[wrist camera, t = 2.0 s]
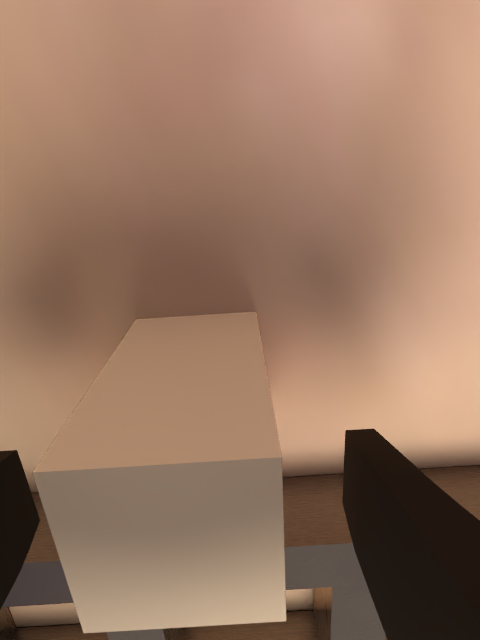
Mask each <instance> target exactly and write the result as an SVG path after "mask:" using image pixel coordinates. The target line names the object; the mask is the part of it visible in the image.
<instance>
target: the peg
mask: <svg viewBox="0 0 480 640" xmlns="http://www.w3.org/2000/svg"><path fill="white" fill-rule="evenodd" d="M32 474H33V477H34V480H35V483H36V486H37V489H38V492H39V495H40V499H41V502H42V505H43V508H44V511H45V514H46V517H47V520H48V524H49V527H50V530H51V533H52V536H53V539H54V542H55V545H56V549H57V552H58V555H59V558H60V561H61V564H62V567H63V570H64V574H65V577H66V580H67V583H68V586H69V589H70V592H71V595H72V599H73V602H74V605H75V608H76V611H77V614H78V617H79V620H80V624H81V627H82V630H83V633H98V632H115V631H131V630H148V629H165V628H182V627H198V626H215V625H232V624H248V623H265V622H282V621H286V591H285V554H284V517H283V480H282V455H281V449H280V444H279V438H278V432H277V427H276V421H275V415H274V410H273V404H272V398H271V392H270V387H269V381H268V375H267V370H266V364H265V358H264V353H263V347H262V341H261V336H260V330H259V324H258V318H257V313H256V312H241V313H225V314H210V315H194V316H178V317H162V318H147V319H136V320H135V321H134V323H133V324H132V326H131V327H130V329H129V330H128V332H127V333H126V335H125V336H124V338H123V339H122V341H121V342H120V344H119V345H118V346H117V348H116V349H115V351H114V352H113V354H112V355H111V357H110V358H109V360H108V361H107V363H106V364H105V366H104V367H103V369H102V370H101V372H100V373H99V375H98V376H97V378H96V379H95V380H94V382H93V383H92V385H91V386H90V388H89V389H88V391H87V392H86V394H85V395H84V397H83V398H82V400H81V401H80V403H79V404H78V406H77V407H76V409H75V410H74V412H73V413H72V414H71V416H70V417H69V419H68V420H67V422H66V423H65V425H64V426H63V428H62V429H61V431H60V432H59V434H58V435H57V437H56V438H55V440H54V441H53V443H52V444H51V446H50V447H49V448H48V450H47V451H46V453H45V454H44V456H43V457H42V459H41V460H40V462H39V463H38V465H37V466H36V468H35V469H34V471H33V472H32Z"/></svg>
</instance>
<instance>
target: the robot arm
mask: <svg viewBox="0 0 480 640" xmlns="http://www.w3.org/2000/svg"><path fill="white" fill-rule="evenodd" d="M342 503H343V507H344V511H345V515H346V519H347V523H348V527H349V531H350V535H351V539H352V543H353V546H354V550H355V553H356V556H357V559H358V562H359V564H360V567H361V570H362V573H363V575H364V578H365V581H366V583H367V586H368V589H369V592H370V594H371V597H372V600H373V602H374V605H375V608H376V611H377V613H378V616H379V619H380V621H381V624H382V627H383V629H384V632H385V635H386V637H387V640H480V520H478V519H477V518H476V517H475V516H474V515H472V514H471V513H470V512H469V511H467V510H466V509H465V508H464V507H462V506H461V505H460V504H459V503H458V502H456V501H455V500H454V499H453V498H452V497H450V496H449V495H448V494H447V493H446V492H445V491H443V490H442V489H441V488H440V487H439V486H437V485H436V484H435V483H434V482H433V481H432V480H430V479H429V478H428V477H427V476H426V475H425V474H424V473H423V472H421V471H420V470H419V469H418V468H417V467H416V466H415V465H414V464H412V463H411V462H410V461H409V460H408V459H407V458H406V457H405V456H403V455H402V454H401V453H400V452H399V451H398V450H397V449H396V448H395V447H394V446H392V445H391V444H390V443H389V442H388V441H387V440H386V439H385V438H384V437H382V436H381V435H380V434H379V433H378V432H377V431H376V430H375V429H361V430H346V433H345V455H344V476H343V498H342ZM39 522H40V518H39V515H38V512H37V509H36V506H35V503H34V500H33V497H32V494H31V491H30V488H29V485H28V482H27V479H26V476H25V473H24V470H23V467H22V464H21V461H20V458H19V455H18V452H17V450H13V451H0V610H1V608H2V606H3V604H4V602H5V600H6V598H7V596H8V594H9V592H10V591H11V589H12V587H13V585H14V583H15V581H16V579H17V577H18V575H19V573H20V571H21V569H22V566H23V564H24V561H25V559H26V556H27V554H28V552H29V549H30V547H31V544H32V541H33V538H34V536H35V533H36V530H37V528H38V525H39Z"/></svg>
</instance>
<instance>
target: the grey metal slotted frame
mask: <svg viewBox="0 0 480 640" xmlns="http://www.w3.org/2000/svg"><path fill="white" fill-rule="evenodd" d="M419 470H420V471H421V472H423V473H424V474H425V475H426V476H427V477H428V478H429V479H430V480H432V481H433V482H434V483H435V484H436V485H437V486H439V487H440V488H441V489H442V490H443V491H445V492H446V493H447V494H448V495H449V496H450V497H452V498H453V499H454V500H455V501H456V502H458V503H459V504H460V505H461V506H462V507H464V508H465V509H466V510H467V511H469V512H470V513H471V514H472V515H474V516H475V517H476V518H477V519H478V520H480V465H478V466H462V467H446V468H430V469H419ZM343 476H344V474H333V475H317V476H301V477H285V478H282V480H283V517H284V554H285V590H291V589H308V588H314V610H309V611H293V612H286V621H282V622H265V623H248V624H232V625H215V626H198V627H182V628H165V629H148V630H131V631H115V632H98V633H83V630H82V627H81V624H78V625H61V626H45V627H28V628H16V626H15V624H14V621H13V619H12V616H11V614H10V612H9V609H8V607H11V606H28V605H44V604H61V603H74V602H73V599H72V595H71V592H70V589H69V586H68V583H67V580H66V577H65V574H64V570H63V567H62V564H61V561H60V558H59V555H58V552H57V549H56V545H55V542H54V539H53V536H52V533H51V530H50V527H49V524H48V520H47V517H46V514H45V511H44V508H43V505H42V502H41V499H40V495H39V493H31V494H32V497H33V500H34V503H35V506H36V509H37V512H38V515H39V518H40V522H39V525H38V528H37V530H36V533H35V536H34V538H33V541H32V544H31V547H30V549H29V552H28V554H27V556H26V559H25V561H24V564H23V566H22V569H21V571H20V573H19V575H18V577H17V579H16V581H15V583H14V585H13V587H12V589H11V591H10V592H9V594H8V596H7V598H6V600H5V602H4V604H3V606H2V608H1V610H0V640H387V637H386V635H385V632H384V629H383V627H382V624H381V621H380V619H379V616H378V613H377V611H376V608H375V605H374V602H373V600H372V597H371V594H370V592H369V589H368V586H367V583H366V581H365V578H364V575H363V573H362V570H361V567H360V564H359V562H358V559H357V556H356V553H355V550H354V546H353V543H352V539H351V535H350V531H349V527H348V523H347V519H346V515H345V511H344V507H343V503H342V498H343Z"/></svg>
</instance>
